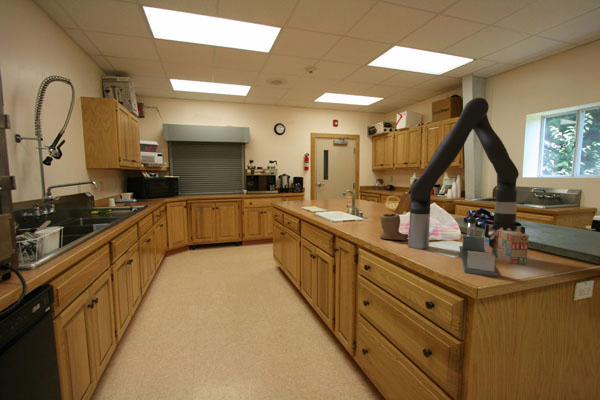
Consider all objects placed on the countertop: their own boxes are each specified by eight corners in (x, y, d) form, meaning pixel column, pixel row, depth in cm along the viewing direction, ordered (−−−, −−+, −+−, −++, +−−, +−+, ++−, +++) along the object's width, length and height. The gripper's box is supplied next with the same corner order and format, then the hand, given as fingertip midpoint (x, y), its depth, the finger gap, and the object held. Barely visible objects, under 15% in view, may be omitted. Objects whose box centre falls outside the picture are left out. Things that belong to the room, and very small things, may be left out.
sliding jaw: (462, 248, 122) (464, 219, 121) (460, 241, 135) (462, 215, 134) (483, 250, 118) (485, 221, 117) (479, 243, 131) (481, 216, 130)
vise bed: (464, 272, 96) (465, 252, 96) (459, 249, 127) (460, 234, 127) (497, 277, 92) (499, 256, 91) (484, 251, 123) (485, 236, 122)
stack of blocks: (480, 249, 127) (482, 224, 126) (494, 250, 126) (495, 225, 125) (510, 264, 106) (512, 234, 105) (527, 264, 105) (529, 234, 104)
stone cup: (376, 240, 146) (377, 213, 145) (381, 236, 156) (382, 211, 155) (405, 243, 138) (406, 215, 137) (408, 239, 149) (409, 213, 147)
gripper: (486, 212, 114) (484, 248, 115) (528, 214, 107) (526, 252, 108) (484, 210, 120) (482, 244, 122) (523, 211, 114) (521, 248, 115)
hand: (503, 248), depth 115 cm, fingers closed on stack of blocks, 7 cm apart
